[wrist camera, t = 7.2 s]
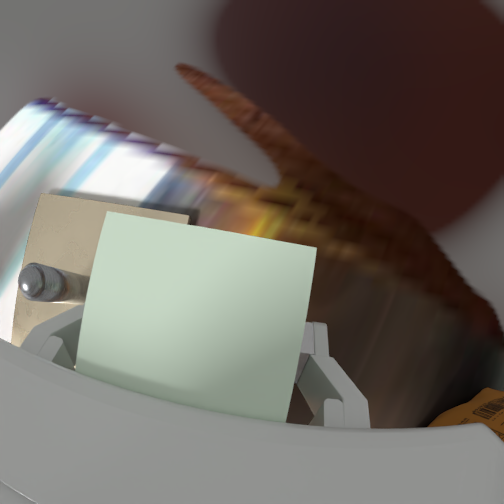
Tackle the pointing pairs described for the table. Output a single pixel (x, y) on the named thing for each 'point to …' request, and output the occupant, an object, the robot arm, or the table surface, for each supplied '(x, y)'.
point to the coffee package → (477, 412)
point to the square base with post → (64, 256)
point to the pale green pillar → (196, 315)
